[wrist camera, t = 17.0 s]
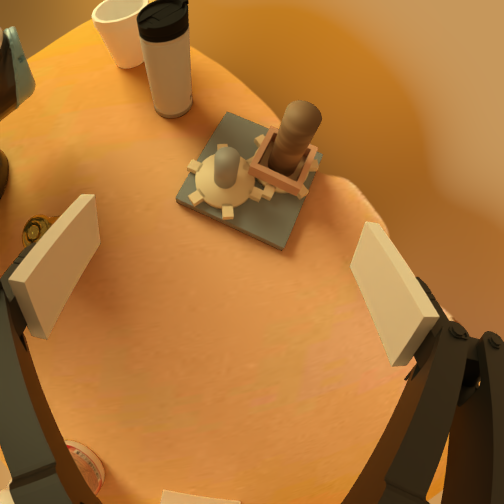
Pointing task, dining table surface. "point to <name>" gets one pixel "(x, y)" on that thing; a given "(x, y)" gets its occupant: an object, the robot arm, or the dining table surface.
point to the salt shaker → (36, 228)
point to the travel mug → (167, 55)
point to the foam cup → (120, 30)
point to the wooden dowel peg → (294, 136)
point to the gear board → (247, 182)
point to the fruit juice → (85, 461)
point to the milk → (191, 499)
